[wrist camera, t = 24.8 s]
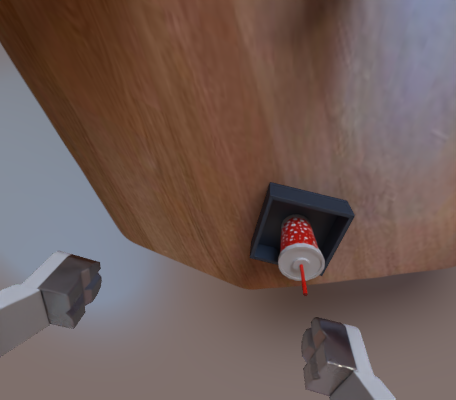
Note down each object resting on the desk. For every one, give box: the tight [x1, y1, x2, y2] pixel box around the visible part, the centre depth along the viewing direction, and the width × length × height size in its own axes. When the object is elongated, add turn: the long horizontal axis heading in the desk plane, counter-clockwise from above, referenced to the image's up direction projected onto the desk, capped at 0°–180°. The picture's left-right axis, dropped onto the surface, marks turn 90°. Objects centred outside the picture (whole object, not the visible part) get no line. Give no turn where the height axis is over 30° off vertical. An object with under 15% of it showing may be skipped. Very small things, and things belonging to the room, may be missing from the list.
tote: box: [250, 182, 355, 276], centre depth 42 cm, size 12×12×4 cm
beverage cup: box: [278, 214, 325, 296], centre depth 37 cm, size 6×6×14 cm
